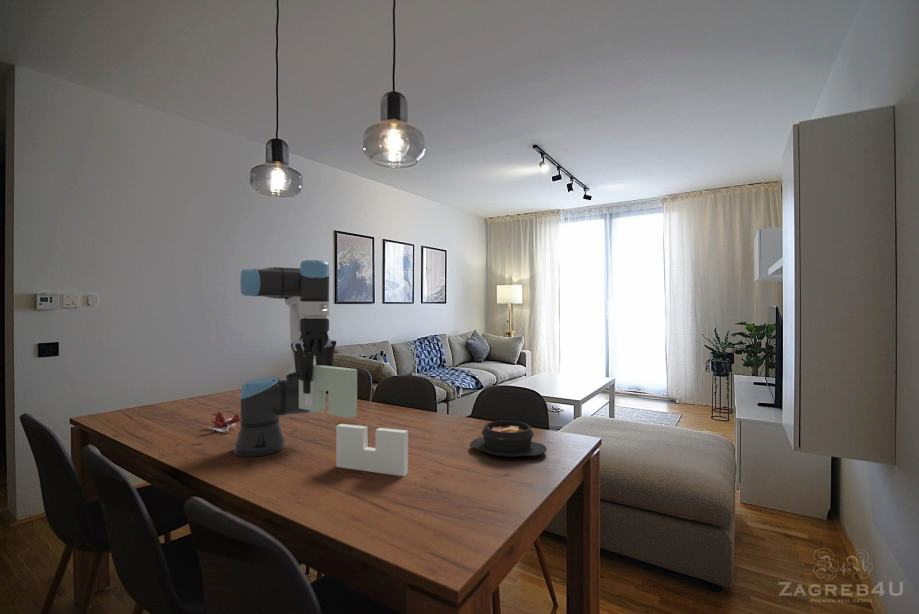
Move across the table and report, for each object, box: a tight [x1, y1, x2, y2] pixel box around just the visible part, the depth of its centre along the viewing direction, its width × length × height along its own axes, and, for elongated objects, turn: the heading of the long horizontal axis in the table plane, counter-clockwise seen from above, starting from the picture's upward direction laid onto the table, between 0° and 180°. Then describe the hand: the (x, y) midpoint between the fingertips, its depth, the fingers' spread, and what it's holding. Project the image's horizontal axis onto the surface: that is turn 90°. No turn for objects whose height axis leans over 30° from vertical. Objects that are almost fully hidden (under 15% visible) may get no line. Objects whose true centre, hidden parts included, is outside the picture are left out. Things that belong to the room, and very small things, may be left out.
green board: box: [299, 365, 358, 419], centre depth 111 cm, size 20×2×12 cm, turn 58°
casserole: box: [469, 420, 547, 458], centre depth 137 cm, size 25×19×8 cm
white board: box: [335, 423, 409, 477], centre depth 121 cm, size 22×2×12 cm, turn 72°
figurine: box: [207, 410, 241, 433], centre depth 160 cm, size 15×12×7 cm
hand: (314, 404), depth 114 cm, fingers closed on green board, 2 cm apart
